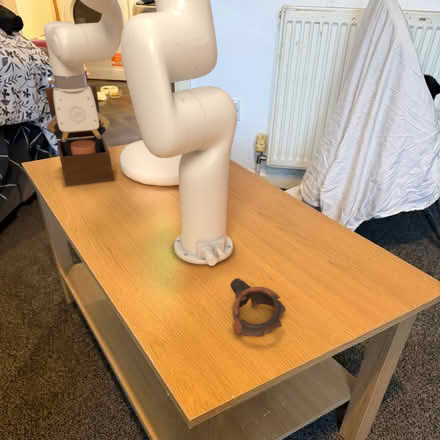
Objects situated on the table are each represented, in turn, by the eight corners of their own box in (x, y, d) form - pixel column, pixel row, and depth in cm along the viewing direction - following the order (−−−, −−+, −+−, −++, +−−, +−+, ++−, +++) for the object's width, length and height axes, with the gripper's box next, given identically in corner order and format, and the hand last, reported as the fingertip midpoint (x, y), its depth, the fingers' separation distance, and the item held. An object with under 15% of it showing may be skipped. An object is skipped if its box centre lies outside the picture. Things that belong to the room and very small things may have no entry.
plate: (229, 165, 111) (133, 181, 103) (227, 186, 116) (135, 203, 107) (190, 124, 129) (106, 134, 120) (190, 144, 134) (109, 155, 125)
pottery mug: (296, 322, 72) (297, 306, 64) (257, 358, 70) (253, 346, 63) (250, 277, 76) (245, 257, 69) (212, 311, 75) (203, 294, 67)
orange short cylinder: (98, 158, 111) (96, 146, 109) (72, 161, 109) (70, 149, 107) (95, 150, 116) (93, 138, 114) (70, 152, 114) (68, 141, 112)
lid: (96, 86, 106) (93, 75, 109) (45, 89, 102) (42, 78, 105) (102, 135, 118) (99, 124, 120) (56, 139, 114) (54, 128, 117)
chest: (113, 180, 113) (109, 152, 108) (66, 186, 110) (59, 157, 105) (106, 162, 123) (102, 136, 118) (62, 167, 120) (56, 140, 115)
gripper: (33, 87, 96) (51, 162, 107) (108, 83, 101) (118, 154, 112) (32, 80, 101) (50, 152, 112) (104, 76, 106) (114, 145, 117)
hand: (84, 152), depth 112 cm, fingers closed on orange short cylinder, 6 cm apart
